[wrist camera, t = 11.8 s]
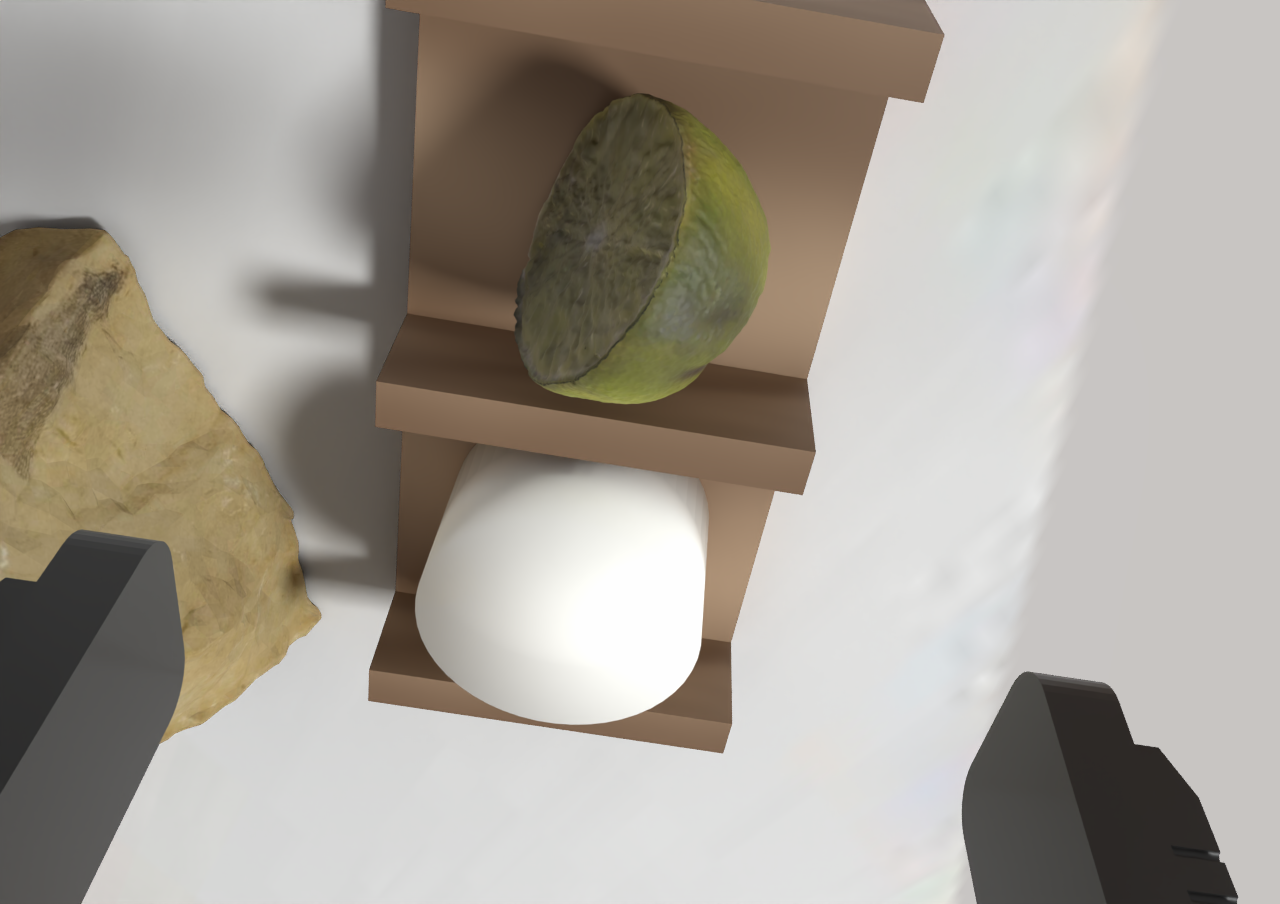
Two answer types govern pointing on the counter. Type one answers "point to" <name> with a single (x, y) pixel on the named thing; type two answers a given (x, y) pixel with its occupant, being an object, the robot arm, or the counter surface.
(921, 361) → the counter surface
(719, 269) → the lime
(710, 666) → the rack
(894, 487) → the counter surface
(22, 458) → the rock
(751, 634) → the counter surface
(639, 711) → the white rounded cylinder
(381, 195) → the counter surface
